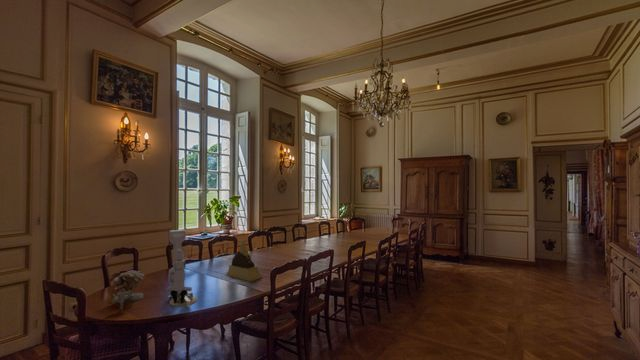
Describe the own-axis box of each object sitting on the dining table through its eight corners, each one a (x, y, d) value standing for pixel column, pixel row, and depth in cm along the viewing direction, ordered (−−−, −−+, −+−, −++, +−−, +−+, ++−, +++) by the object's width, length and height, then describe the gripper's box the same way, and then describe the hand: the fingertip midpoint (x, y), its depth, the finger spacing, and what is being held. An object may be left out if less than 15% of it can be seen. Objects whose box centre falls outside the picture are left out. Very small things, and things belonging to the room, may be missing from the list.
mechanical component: (110, 311, 189) (111, 294, 189) (130, 306, 196) (130, 290, 196) (112, 312, 187) (112, 295, 187) (132, 308, 194) (132, 291, 194)
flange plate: (176, 297, 213) (176, 295, 213) (200, 297, 213) (200, 295, 213) (164, 306, 197) (164, 304, 197) (191, 306, 197) (191, 304, 197)
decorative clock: (262, 277, 259) (262, 239, 259) (250, 281, 248) (250, 242, 249) (238, 272, 275) (239, 236, 275) (226, 275, 265) (226, 238, 265)
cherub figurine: (121, 293, 220) (122, 267, 220) (149, 292, 221) (149, 266, 221) (107, 303, 202) (107, 274, 202) (137, 302, 203) (137, 273, 204)
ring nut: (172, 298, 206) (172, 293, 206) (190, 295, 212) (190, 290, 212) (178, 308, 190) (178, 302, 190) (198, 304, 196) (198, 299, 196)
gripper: (164, 282, 192) (163, 305, 192) (188, 282, 192) (188, 305, 192) (169, 278, 199) (169, 301, 199) (193, 278, 199) (192, 301, 199)
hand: (178, 302), depth 196 cm, fingers open, 3 cm apart
